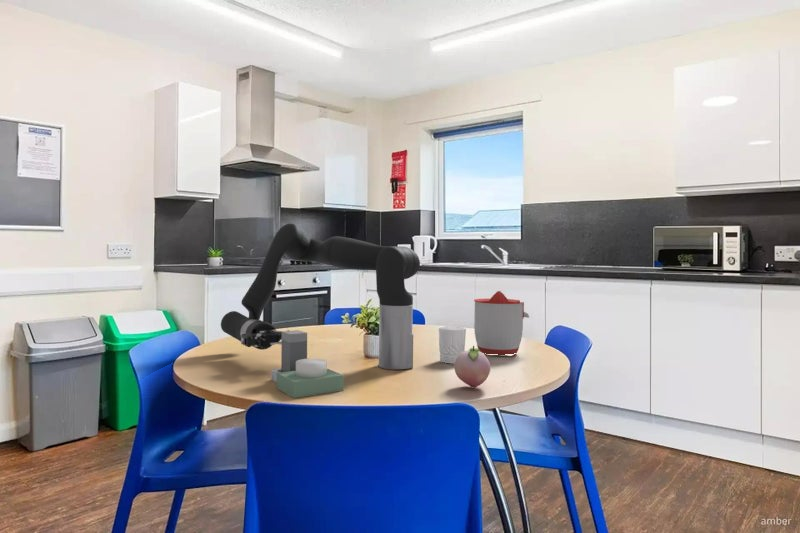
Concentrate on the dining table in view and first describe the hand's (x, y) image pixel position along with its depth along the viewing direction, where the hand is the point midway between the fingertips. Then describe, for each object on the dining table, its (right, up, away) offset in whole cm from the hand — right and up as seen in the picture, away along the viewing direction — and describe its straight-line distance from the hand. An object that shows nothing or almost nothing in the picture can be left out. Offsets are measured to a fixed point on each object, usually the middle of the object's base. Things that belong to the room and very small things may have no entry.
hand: (280, 342), depth 135 cm
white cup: (+45, -9, +19) cm, 50 cm away
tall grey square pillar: (+5, -9, -6) cm, 12 cm away
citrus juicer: (+62, -9, +33) cm, 71 cm away
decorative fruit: (+47, -9, -10) cm, 49 cm away
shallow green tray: (+7, -9, -10) cm, 15 cm away
